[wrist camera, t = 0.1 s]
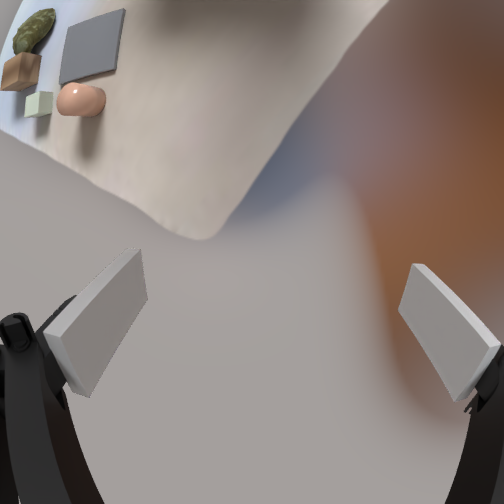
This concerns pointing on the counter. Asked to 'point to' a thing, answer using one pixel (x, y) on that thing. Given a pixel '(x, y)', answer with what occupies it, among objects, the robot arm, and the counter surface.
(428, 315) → the robot arm
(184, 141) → the counter surface
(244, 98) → the counter surface
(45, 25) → the seashell
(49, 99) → the sage block
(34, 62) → the walnut cube
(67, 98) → the pink glossy pebble
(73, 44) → the coaster
